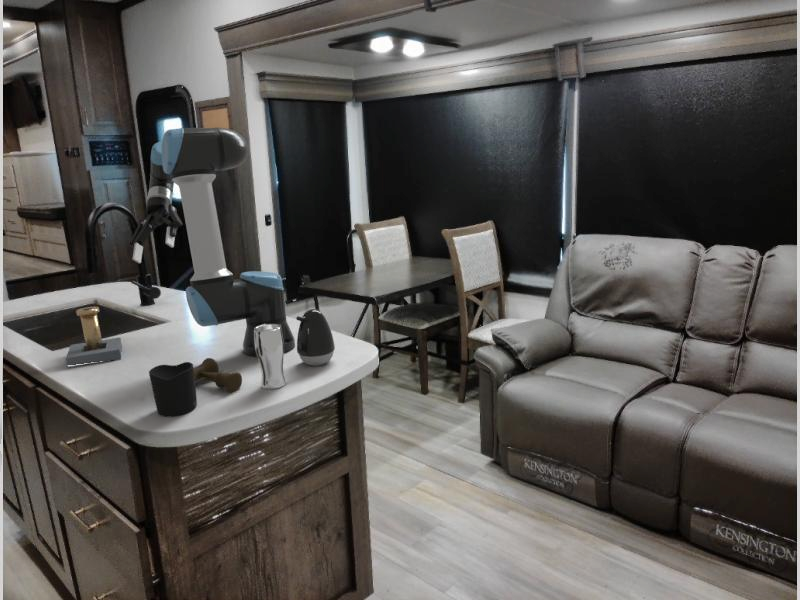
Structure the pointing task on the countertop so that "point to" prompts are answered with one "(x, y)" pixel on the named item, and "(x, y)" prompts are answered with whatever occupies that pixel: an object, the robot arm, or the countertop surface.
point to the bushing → (90, 327)
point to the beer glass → (270, 355)
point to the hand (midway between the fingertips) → (152, 253)
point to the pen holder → (174, 388)
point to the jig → (94, 352)
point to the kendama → (218, 375)
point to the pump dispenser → (314, 338)
